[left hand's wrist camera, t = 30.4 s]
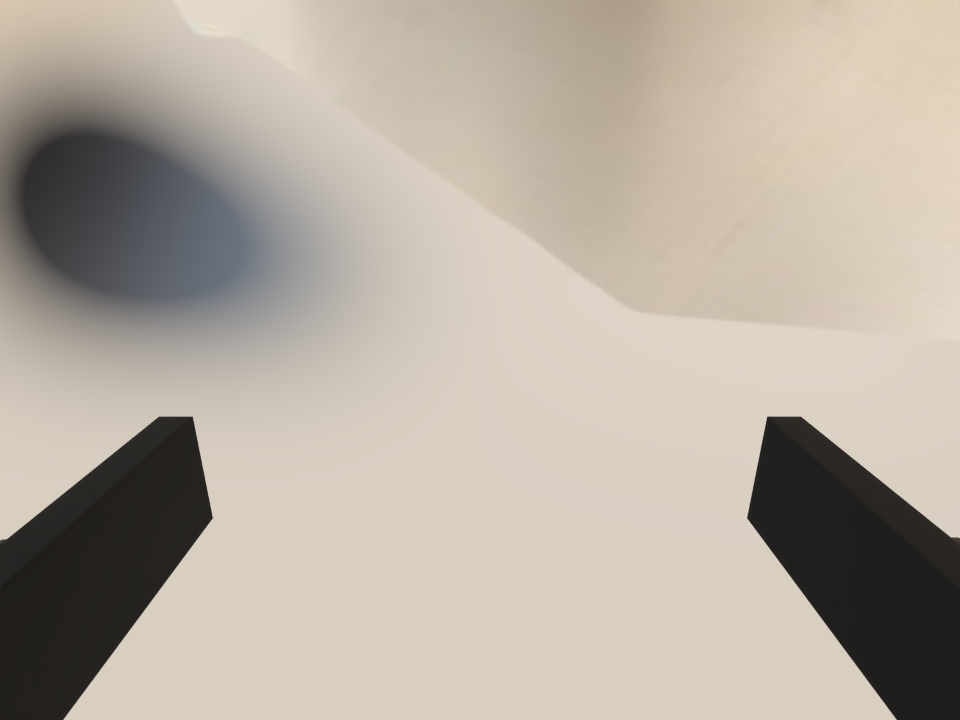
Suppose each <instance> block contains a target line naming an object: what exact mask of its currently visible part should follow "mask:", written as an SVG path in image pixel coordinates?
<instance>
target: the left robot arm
mask: <svg viewBox="0 0 960 720" xmlns="http://www.w3.org/2000/svg"><path fill="white" fill-rule="evenodd" d="M212 519H213V517H212V512H211V507H210V502H209V496H208V492H207V487H206V481H205V476H204V471H203V466H202V461H201V456H200V451H199V446H198V441H197V436H196V431H195V426H194V421H193V417H158V418H157V419H156V420H154V421H153V422H152V423H151V424H150V425H148V426H147V427H146V428H145V429H143V430H142V431H141V432H140V433H138V434H137V435H136V436H135V437H133V438H132V439H131V440H130V441H128V442H127V443H126V444H125V445H124V446H122V447H121V448H120V449H118V450H117V451H116V452H115V453H114V454H112V455H111V456H110V457H109V458H107V459H106V460H105V461H104V462H102V463H101V464H100V465H99V466H97V467H96V468H95V469H94V470H92V471H91V472H90V473H89V474H87V475H86V476H85V477H84V478H82V479H81V480H80V481H79V482H77V483H76V484H75V485H74V486H73V487H71V488H70V489H69V490H68V491H66V492H65V493H64V494H63V495H61V496H60V497H59V498H58V499H56V500H55V501H54V502H53V503H51V504H50V505H49V506H48V507H46V508H45V509H44V510H43V511H42V512H40V513H39V514H38V515H37V516H35V517H34V518H33V519H32V520H30V521H29V522H28V523H27V524H25V525H24V526H23V527H22V528H20V529H19V530H18V531H17V532H15V533H14V534H13V535H12V536H10V537H9V538H8V539H7V540H1V541H0V720H63V719H64V718H65V717H66V715H67V714H68V713H69V711H70V710H71V709H72V707H73V706H74V704H75V703H76V702H77V700H78V699H79V698H80V696H81V695H82V694H83V692H84V691H85V690H86V688H87V687H88V686H89V684H90V683H91V682H92V680H93V679H94V677H95V676H96V675H97V673H98V672H99V671H100V669H101V668H102V667H103V665H104V664H105V663H106V661H107V660H108V659H109V657H110V656H111V655H112V653H113V652H114V651H115V649H116V648H117V647H118V645H119V644H120V642H121V641H122V640H123V638H124V637H125V636H126V634H127V633H128V632H129V630H130V629H131V628H132V626H133V625H134V624H135V622H136V621H137V620H138V618H139V617H140V616H141V614H142V613H143V611H144V610H145V609H146V607H147V606H148V605H149V603H150V602H151V601H152V599H153V598H154V597H155V595H156V594H157V593H158V591H159V590H160V589H161V587H162V586H163V584H164V583H165V582H166V581H167V579H168V578H169V576H170V575H171V574H172V572H173V571H174V570H175V568H176V567H177V566H178V564H179V563H180V562H181V560H182V559H183V558H184V556H185V555H186V554H187V552H188V551H189V550H190V548H191V547H192V545H193V544H194V543H195V541H196V540H197V539H198V537H199V536H200V535H201V533H202V532H203V531H204V529H205V528H206V527H207V525H208V524H209V523H210V521H211V520H212ZM747 519H748V520H749V521H750V523H751V524H752V525H753V527H754V528H755V529H756V531H757V532H758V533H759V535H760V536H761V537H762V539H763V540H764V541H765V543H766V544H767V545H768V547H769V548H770V550H771V551H772V552H773V554H774V555H775V556H776V558H777V559H778V560H779V562H780V563H781V564H782V566H783V567H784V568H785V570H786V571H787V572H788V574H789V575H790V576H791V578H792V579H793V581H794V582H795V583H796V585H797V586H798V587H799V588H800V590H801V591H802V593H803V594H804V595H805V597H806V598H807V599H808V601H809V602H810V603H811V605H812V606H813V607H814V609H815V610H816V612H817V613H818V614H819V616H820V617H821V618H822V620H823V621H824V622H825V624H826V625H827V626H828V628H829V629H830V630H831V632H832V633H833V634H834V636H835V637H836V638H837V640H838V641H839V642H840V644H841V645H842V647H843V648H844V649H845V650H846V652H847V653H848V655H849V656H850V657H851V659H852V660H853V661H854V663H855V664H856V665H857V667H858V668H859V669H860V671H861V672H862V673H863V675H864V676H865V678H866V679H867V680H868V682H869V683H870V684H871V686H872V687H873V688H874V690H875V691H876V692H877V694H878V695H879V696H880V698H881V699H882V700H883V702H884V703H885V704H886V706H887V707H888V709H889V710H890V711H891V713H892V714H893V715H894V717H895V718H896V719H897V720H960V538H951V537H950V536H948V535H947V534H946V533H945V532H943V531H942V530H941V529H940V528H938V527H937V526H936V525H935V524H933V523H932V522H931V521H930V520H928V519H927V518H926V517H925V516H923V515H922V514H921V513H920V512H918V511H917V510H916V509H915V508H914V507H912V506H911V505H910V504H909V503H907V502H906V501H905V500H904V499H902V498H901V497H900V496H899V495H897V494H896V493H895V492H894V491H892V490H891V489H890V488H889V487H887V486H886V485H885V484H884V483H882V482H881V481H880V480H879V479H878V478H876V477H875V476H874V475H873V474H871V473H870V472H869V471H868V470H866V469H865V468H864V467H863V466H861V465H860V464H859V463H858V462H856V461H855V460H854V459H853V458H851V457H850V456H849V455H848V454H846V453H845V452H844V451H843V450H842V449H840V448H839V447H838V446H837V445H835V444H834V443H833V442H832V441H830V440H829V439H828V438H827V437H825V436H824V435H823V434H822V433H820V432H819V431H818V430H817V429H815V428H814V427H813V426H812V425H811V424H809V423H808V422H807V421H806V420H804V419H803V418H802V417H767V421H766V426H765V431H764V436H763V441H762V446H761V451H760V456H759V461H758V466H757V471H756V476H755V481H754V486H753V491H752V497H751V502H750V507H749V512H748V517H747Z"/></svg>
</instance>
